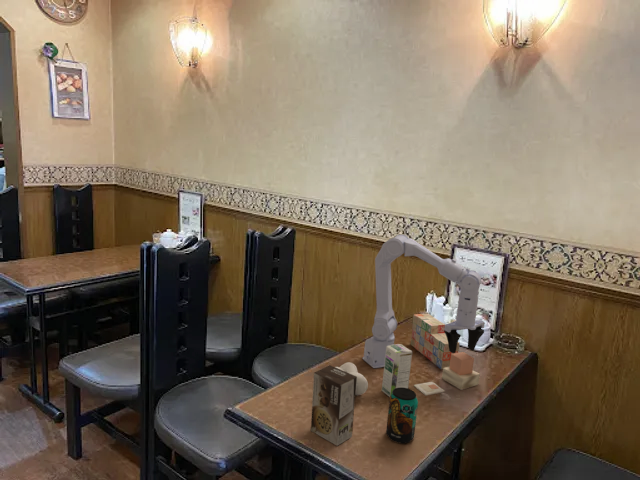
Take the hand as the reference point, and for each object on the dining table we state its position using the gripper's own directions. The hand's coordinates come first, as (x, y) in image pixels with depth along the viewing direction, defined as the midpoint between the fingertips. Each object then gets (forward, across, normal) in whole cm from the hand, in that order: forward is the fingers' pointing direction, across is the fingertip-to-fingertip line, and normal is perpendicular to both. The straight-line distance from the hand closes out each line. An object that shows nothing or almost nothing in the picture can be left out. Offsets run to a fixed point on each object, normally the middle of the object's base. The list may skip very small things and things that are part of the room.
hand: (461, 350), depth 150 cm
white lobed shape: (+11, -40, +4) cm, 41 cm away
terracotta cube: (+7, 0, 0) cm, 7 cm away
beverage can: (+11, -36, -20) cm, 42 cm away
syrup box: (+11, -25, 0) cm, 27 cm away
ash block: (+11, 0, -1) cm, 11 cm away
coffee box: (+11, -52, -12) cm, 54 cm away
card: (+10, -13, -2) cm, 16 cm away
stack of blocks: (+11, +4, +18) cm, 22 cm away
